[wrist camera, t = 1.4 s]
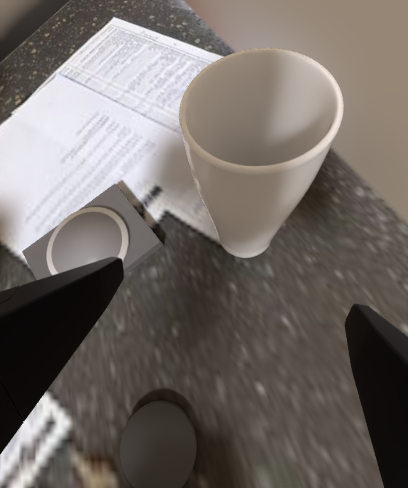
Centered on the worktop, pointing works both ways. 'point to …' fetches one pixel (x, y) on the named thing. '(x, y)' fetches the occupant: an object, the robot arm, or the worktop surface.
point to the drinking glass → (257, 140)
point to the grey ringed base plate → (94, 237)
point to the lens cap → (158, 446)
